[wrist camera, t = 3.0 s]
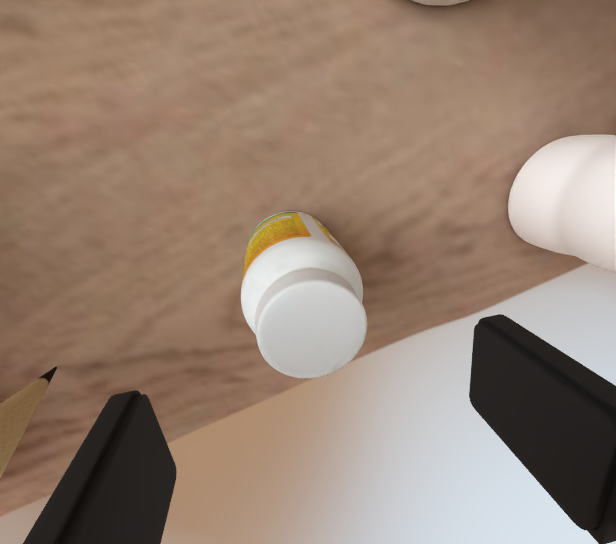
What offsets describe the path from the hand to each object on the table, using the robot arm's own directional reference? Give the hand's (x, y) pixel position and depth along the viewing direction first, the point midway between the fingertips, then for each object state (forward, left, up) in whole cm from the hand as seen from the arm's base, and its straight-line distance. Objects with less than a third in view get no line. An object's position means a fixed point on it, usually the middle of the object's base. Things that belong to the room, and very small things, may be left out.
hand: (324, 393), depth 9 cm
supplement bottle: (0, 0, -12) cm, 12 cm away
